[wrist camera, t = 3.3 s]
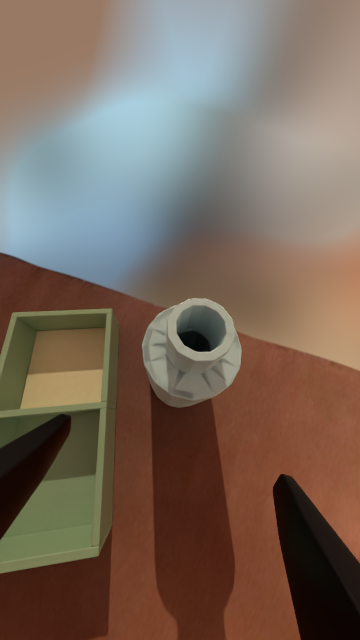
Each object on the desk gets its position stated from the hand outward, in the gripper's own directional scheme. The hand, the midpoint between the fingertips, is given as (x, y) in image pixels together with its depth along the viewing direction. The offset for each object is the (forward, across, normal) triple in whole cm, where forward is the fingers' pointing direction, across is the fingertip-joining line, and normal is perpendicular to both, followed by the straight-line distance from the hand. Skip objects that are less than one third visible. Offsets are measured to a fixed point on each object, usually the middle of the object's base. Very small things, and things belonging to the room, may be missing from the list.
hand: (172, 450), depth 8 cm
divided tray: (+8, +10, +9) cm, 15 cm away
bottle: (+12, 0, +5) cm, 13 cm away
